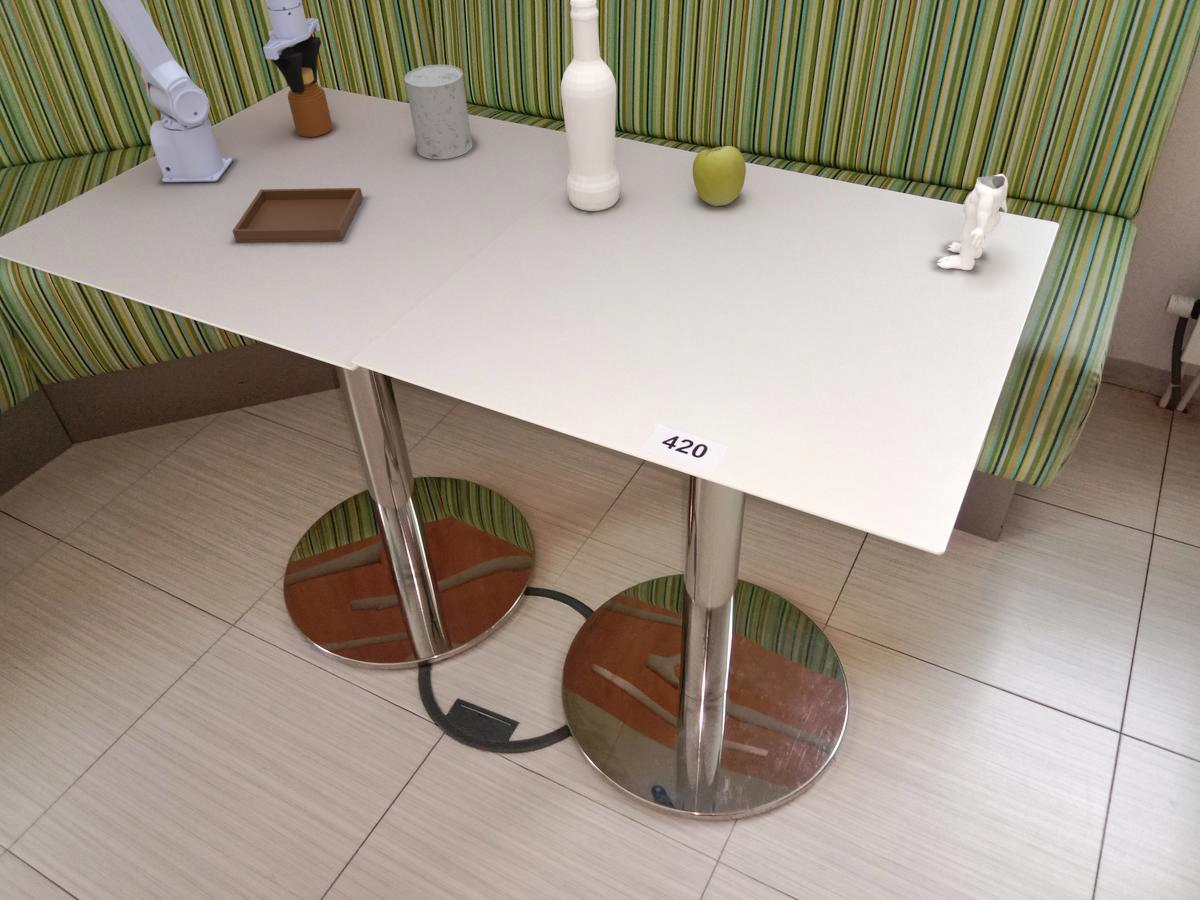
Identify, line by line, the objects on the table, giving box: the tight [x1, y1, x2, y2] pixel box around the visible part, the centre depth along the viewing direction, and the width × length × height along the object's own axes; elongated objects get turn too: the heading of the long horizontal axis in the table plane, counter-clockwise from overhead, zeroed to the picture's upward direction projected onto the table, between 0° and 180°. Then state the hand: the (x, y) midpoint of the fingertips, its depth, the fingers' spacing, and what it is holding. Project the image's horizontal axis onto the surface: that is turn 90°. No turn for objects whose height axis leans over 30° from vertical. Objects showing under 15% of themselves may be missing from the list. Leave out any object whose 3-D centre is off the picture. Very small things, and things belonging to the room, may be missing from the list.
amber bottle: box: [287, 82, 333, 138], centre depth 171 cm, size 6×6×10 cm
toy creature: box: [936, 173, 1009, 271], centre depth 128 cm, size 12×6×12 cm, turn 147°
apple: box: [692, 141, 747, 207], centre depth 145 cm, size 8×8×10 cm
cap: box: [302, 67, 314, 85], centre depth 168 cm, size 4×4×2 cm
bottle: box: [560, 0, 621, 212], centre depth 140 cm, size 8×8×30 cm
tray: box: [232, 187, 364, 243], centre depth 148 cm, size 16×13×2 cm
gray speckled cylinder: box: [403, 64, 473, 160], centre depth 162 cm, size 10×10×12 cm
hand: (304, 87), depth 169 cm, fingers closed on cap, 4 cm apart
